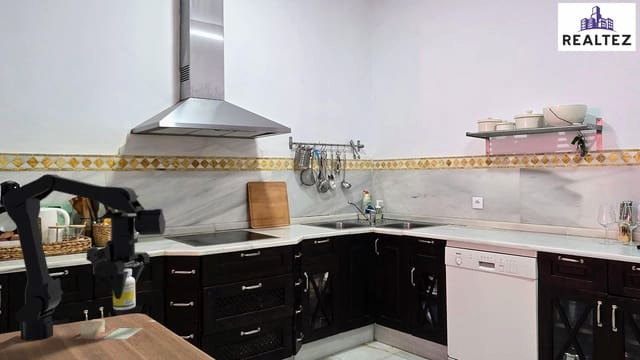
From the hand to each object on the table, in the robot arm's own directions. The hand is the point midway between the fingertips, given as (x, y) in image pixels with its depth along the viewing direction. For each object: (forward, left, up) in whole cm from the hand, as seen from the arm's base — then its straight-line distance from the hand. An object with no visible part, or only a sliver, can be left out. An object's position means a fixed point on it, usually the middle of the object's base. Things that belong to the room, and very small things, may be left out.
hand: (123, 296), depth 124 cm
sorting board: (-4, 0, -11) cm, 12 cm away
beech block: (-8, -1, -10) cm, 12 cm away
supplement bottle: (0, 0, -3) cm, 3 cm away
